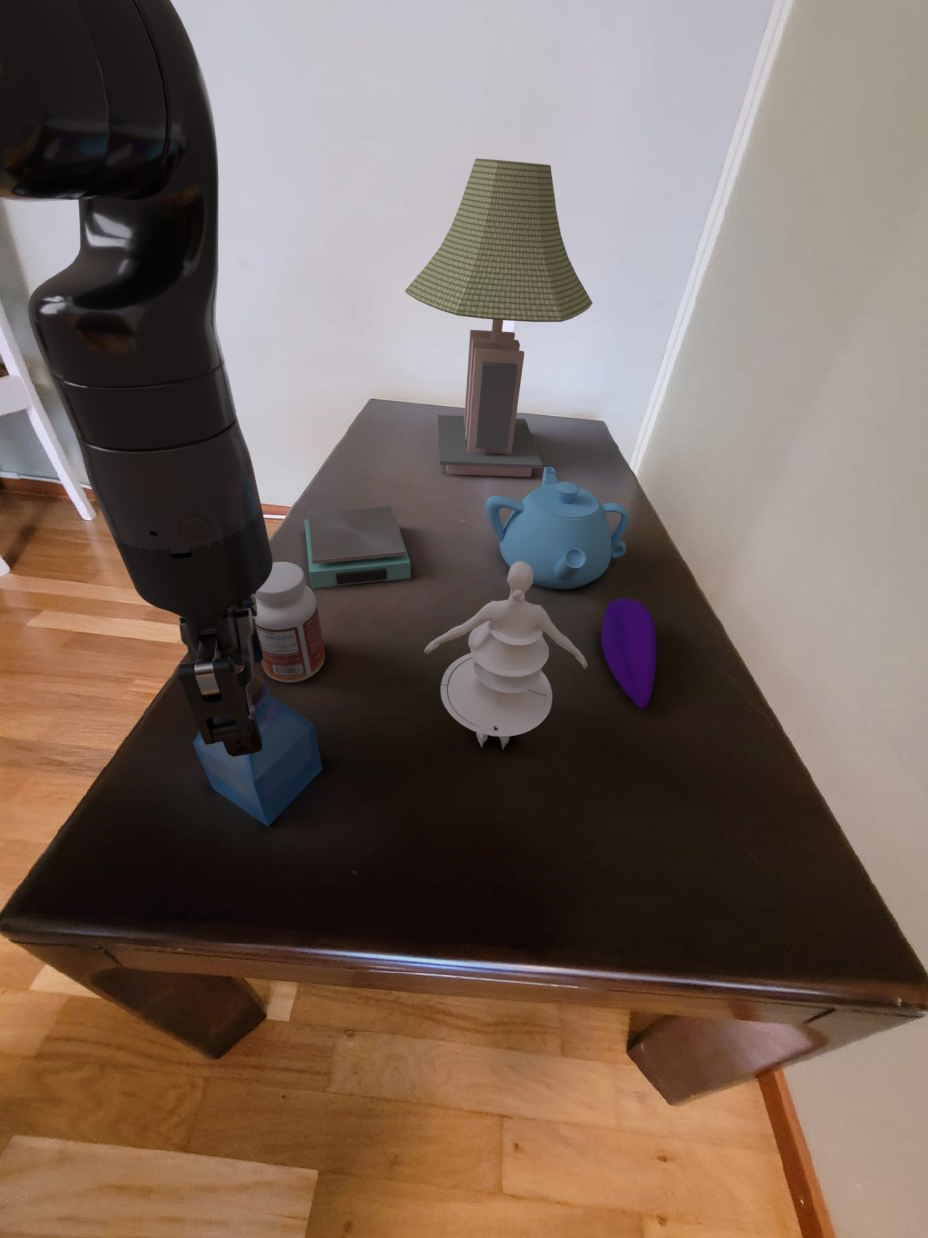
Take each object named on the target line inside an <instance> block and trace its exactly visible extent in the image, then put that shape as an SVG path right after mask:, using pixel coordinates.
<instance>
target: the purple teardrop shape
mask: <svg viewBox="0 0 928 1238" xmlns="http://www.w3.org/2000/svg"><path fill="white" fill-rule="evenodd" d="M606 607H607V608H606V610H605V612H604V615H603V618H602V622H601V629H600V641H601V643H600V644H601V648H602V651H603V655H604V659H605V661H606V663H607V665H608V667H609V669H610V671H611V673H612V675H613V677H614V679H615V680H616V682H617V683H618V685H619V687H620V688H621V689H622V690H623V692H624V693H625V694H626V695H627V696H628V697H629V699H630V700H631V701H632V702H633V703H634V704H635V705H636V706H637V707H638V708H639V709H645V708H646V707H647V706H648V704H649V701H650V699H651V695H652V692H653V688H654V683H655V677H656V676H655V675H656V667H657V666H656V665H657V635H656V634H657V633H656V625H655V620H654V618H653V615H652V613H651V612H650V610H649V609H648V608H647V607H646V606H645V605H644V604H643V603H642V602H641V601H638V600H635V599H631V598H627V597H626V598H625V597H620V598H617V599H616V600H612V601H610V602H608V604H607V606H606Z"/></svg>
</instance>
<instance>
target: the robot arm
mask: <svg viewBox="0 0 928 1238" xmlns="http://www.w3.org/2000/svg"><path fill="white" fill-rule="evenodd" d="M216 133H217V132H216V125H215V118H214V113H213V108H212V103H211V99H210V95H209V90H208V87H207V84H206V80H205V77H204V72H203V70H202V66H201V64H200V62H199V59H198V56H197V52H196V50H195V47H194V45H193V43H192V41H191V38H190V35H189V34H188V31H187V29H186V27H185V25H184V23H183V21H182V18H181V17H180V14H179V13H178V11H177V10H176V7H175V6H174V4H173V2H172V1H171V0H0V199H3V200H10V201H14V202H21V203H22V202H23V203H36V202H38V203H45V202H63V201H77V202H78V217H79V251H78V254H77V255H76V256H75V259H74V260H73V261H72V262H71V263H70V264H69V265H68V266H67V267H65V268H64V269H62V270H61V271H59V272H57V273H56V274H54V275H53V276H51V277H49V278H47V279H46V280H44V282H42V283H41V284H40V285H38V286H37V287H36V288H35V290H34V291H33V292H32V293H31V295H30V297H29V300H28V304H27V315H28V320H29V324H30V328H31V331H32V334H33V337H34V339H35V342H36V345H37V347H38V350H39V352H40V353H39V354H40V355H41V357H42V360H43V362H44V364H45V366H46V368H47V371H48V375H49V376H50V379H51V380H52V383H53V386H54V389H55V390H56V393H57V395H58V398H59V400H60V402H61V405H62V407H63V409H64V412H65V414H66V416H67V419H68V421H69V423H70V426H71V428H72V431H73V433H74V434H75V438H76V440H77V444H78V446H79V449H80V453H81V457H82V461H83V465H84V469H85V472H86V476H87V479H88V483H89V485H90V488H91V490H92V493H93V495H94V497H95V499H96V502H97V505H98V507H99V509H100V511H101V513H102V516H103V519H104V521H105V523H106V525H107V527H108V530H109V532H110V534H111V537H112V539H113V541H114V544H115V546H116V548H117V551H118V552H119V555H120V557H121V559H122V562H123V565H124V566H125V568H126V571H127V573H128V576H129V578H130V580H131V582H132V585H133V587H134V589H135V591H136V593H137V594H138V596H139V597H140V598H141V599H143V601H144V602H146V603H148V604H149V605H150V606H153V607H155V608H158V609H160V610H164V611H166V612H169V613H172V614H174V615H177V616H179V617H178V626H179V633H180V639H181V642H182V644H183V645H184V646H186V649H187V654H188V660H189V662H181V663H180V664H179V665H178V670H177V678H178V680H179V681H180V684H181V686H182V689H183V692H184V694H185V697H186V700H187V703H188V705H189V707H190V710H191V713H192V715H193V718H194V720H195V722H196V725H197V727H198V731H199V732H200V733H201V736H202V739H203V741H204V743H205V745H209V744H215V743H217V742H222V741H223V744H224V746H225V749H226V751H227V754H228V755H230V756H232V757H236V756H242V755H247V754H253V753H256V752H259V751H260V750H261V749H262V736H261V733H260V730H259V727H258V723H257V720H256V717H255V707H254V706H253V704H252V697H251V691H250V683H251V682H252V681H253V680H254V678H255V677H256V669H257V667H256V664H259V663H262V662H261V661H262V660H263V650H262V646H261V643H260V639H259V635H258V631H257V627H256V623H255V621H256V616H257V614H258V613H257V603H256V597H255V595H256V591H257V590H258V589H259V588H260V587H261V586H262V585H263V584H264V583H265V582H266V581H267V579H268V577H269V575H270V573H271V571H272V566H273V562H274V561H273V554H272V549H271V544H270V540H269V535H268V530H267V526H266V521H265V517H264V512H263V506H262V502H261V498H260V493H259V489H258V484H257V478H256V475H255V470H254V466H253V461H252V458H251V453H250V450H249V448H248V445H247V442H246V439H245V436H244V434H243V432H242V429H241V426H240V422H239V419H238V415H237V409H236V405H235V400H234V396H233V390H232V387H231V383H230V377H229V374H228V369H227V364H226V360H225V358H224V357H225V355H224V352H223V348H222V345H221V341H220V337H219V333H218V328H217V327H218V326H217V300H218V299H217V298H218V286H219V230H220V229H219V226H220V225H219V220H220V219H219V215H220V214H219V210H220V209H219V206H220V205H219V202H220V201H219V200H220V197H219V191H220V190H219V187H220V186H219V185H220V183H219V182H220V181H219V180H220V179H219V178H220V177H219V154H218V142H217V134H216ZM237 666H243V668H242V670H238V671H237V670H236V667H237Z"/></svg>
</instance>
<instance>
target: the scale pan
mask: <svg viewBox="0 0 928 1238" xmlns="http://www.w3.org/2000/svg"><path fill="white" fill-rule="evenodd" d="M306 513H307V519H308V524H309V534H310V544H311V554H312V563H313V564H320V563H331V562H341V561H352V560H362V559H373V558H384V557H394V556H405V555H406V551H405V548H404V545H403V542H402V539H401V536H400V533H399V530H398V527H397V523H398V522H397V523H396V520H397V519H396V520H395V517H396V516H395V517H394V514H395V513H394V512H393V509H392V506H380V507H366V508H363V507H362V508H351V509H337V510H325V511H310V512H308V511H307V512H306ZM393 513H394V514H393Z"/></svg>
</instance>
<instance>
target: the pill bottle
mask: <svg viewBox="0 0 928 1238" xmlns="http://www.w3.org/2000/svg"><path fill="white" fill-rule="evenodd" d="M255 597H256V603H257V613H258V614H257V616H256V621H255V623H256V627H257V631H258V635H259V639H260V643H261V646H262V650H263V660H262V661H261V662H260V663H261V665H262V669H263V671H264V672H265V674H266V675H267V676H268V677H270V678H271V679H272V680H275V681H278V682H281V683H299V682H303V681H305V680H307V679H310V678H311V677H312V676H314V675H315V674H316V673H318V672H319V671H320V669H321V668H322V666H323V665H324V662H325V659H326V654H325V646H324V640H323V635H322V629H321V622H320V621H321V620H320V615H319V609H318V603H317V598H316V595H315V592H313V589H312V588H310V587H309V586H308V585H307V582H306V578H305V573H304V571H303V569H302V567H300V566H299V565H297V564H296V563H293V562H288V561H273V566H272V571H271V573H270V575H269V577H268V579H267V581H266V582H265V583H264V584H263V585H262V586H261V587H260V588H259V589H258V590H257V591H256V595H255Z"/></svg>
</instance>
